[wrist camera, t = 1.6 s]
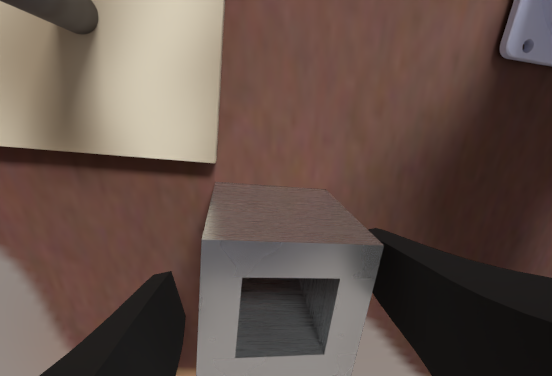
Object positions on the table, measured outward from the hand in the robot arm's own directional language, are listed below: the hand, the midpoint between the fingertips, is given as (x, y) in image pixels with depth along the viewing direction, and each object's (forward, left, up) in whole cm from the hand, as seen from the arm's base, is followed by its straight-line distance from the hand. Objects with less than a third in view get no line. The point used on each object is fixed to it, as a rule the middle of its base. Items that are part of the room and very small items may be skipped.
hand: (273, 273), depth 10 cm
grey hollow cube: (0, 0, -3) cm, 3 cm away
